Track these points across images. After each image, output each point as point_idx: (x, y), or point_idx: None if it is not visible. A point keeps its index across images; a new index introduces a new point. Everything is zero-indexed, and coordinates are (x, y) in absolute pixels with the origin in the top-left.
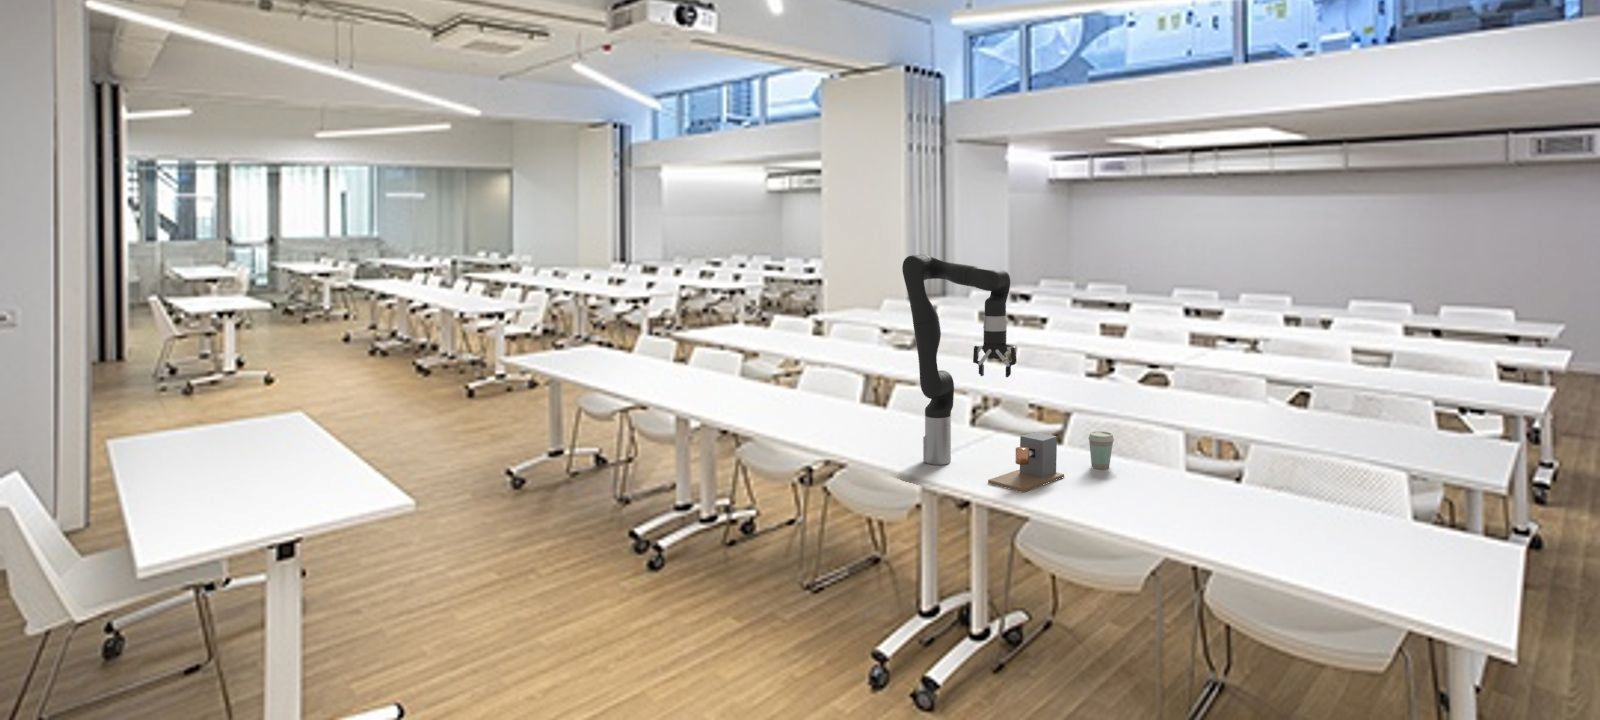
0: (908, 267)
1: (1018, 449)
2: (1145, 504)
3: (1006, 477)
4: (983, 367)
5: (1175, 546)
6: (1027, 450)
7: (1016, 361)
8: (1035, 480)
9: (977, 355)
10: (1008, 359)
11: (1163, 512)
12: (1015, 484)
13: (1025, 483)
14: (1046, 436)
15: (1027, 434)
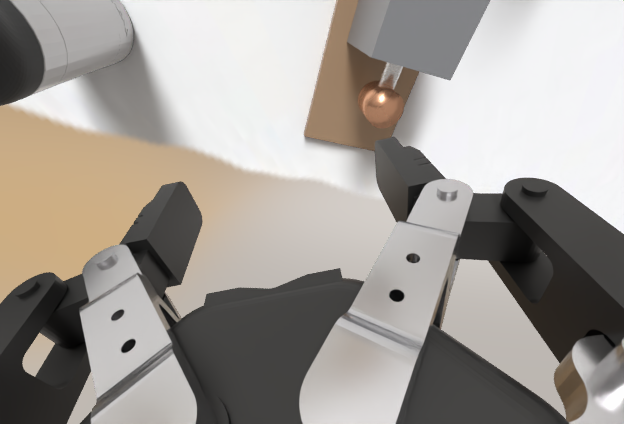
0: None
1: (377, 125)
2: (598, 101)
3: (331, 99)
4: (167, 235)
5: None
6: (400, 116)
7: (562, 197)
8: (395, 87)
9: (51, 390)
10: (461, 231)
11: (615, 128)
12: (363, 136)
13: None
14: (459, 8)
15: (389, 15)
